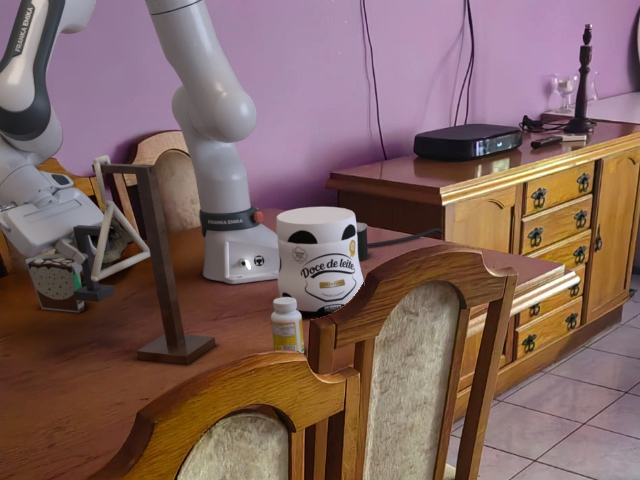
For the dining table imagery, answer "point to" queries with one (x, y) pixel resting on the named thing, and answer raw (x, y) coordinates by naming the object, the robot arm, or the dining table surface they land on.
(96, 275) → the hanger stand
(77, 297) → the black hanger
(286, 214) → the milk container
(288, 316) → the supplement bottle
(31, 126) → the robot arm
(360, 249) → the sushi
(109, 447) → the dining table surface
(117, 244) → the hollow geode rock
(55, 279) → the food container
